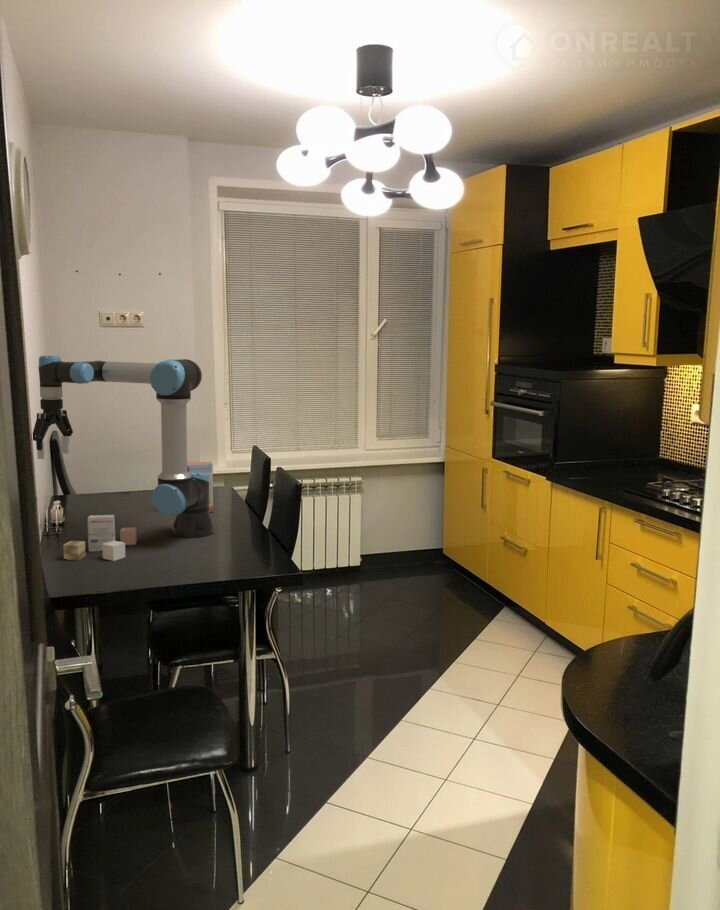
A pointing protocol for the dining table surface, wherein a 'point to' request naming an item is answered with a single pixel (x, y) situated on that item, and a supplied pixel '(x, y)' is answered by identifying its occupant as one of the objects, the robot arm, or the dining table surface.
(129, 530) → the terracotta cube
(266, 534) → the dining table surface
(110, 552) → the off-white cube
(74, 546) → the maple cube
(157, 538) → the dining table surface
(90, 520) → the ink box
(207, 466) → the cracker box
